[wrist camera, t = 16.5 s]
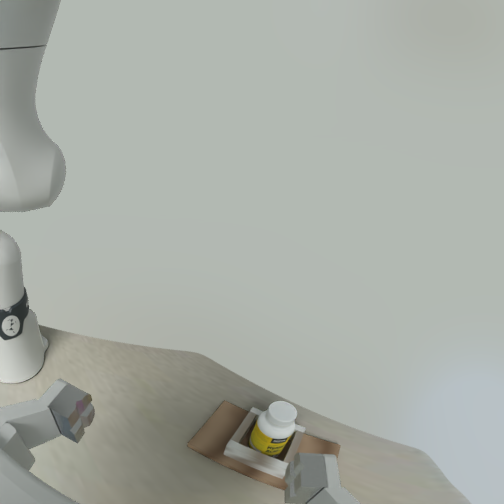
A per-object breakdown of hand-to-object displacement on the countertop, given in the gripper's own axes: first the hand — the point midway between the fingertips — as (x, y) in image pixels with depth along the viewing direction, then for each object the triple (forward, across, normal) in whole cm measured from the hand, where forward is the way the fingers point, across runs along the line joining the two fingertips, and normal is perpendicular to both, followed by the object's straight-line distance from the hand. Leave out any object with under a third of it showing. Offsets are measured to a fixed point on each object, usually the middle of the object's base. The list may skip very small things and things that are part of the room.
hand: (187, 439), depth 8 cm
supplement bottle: (+20, -9, +28) cm, 36 cm away
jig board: (+20, -10, +29) cm, 36 cm away
